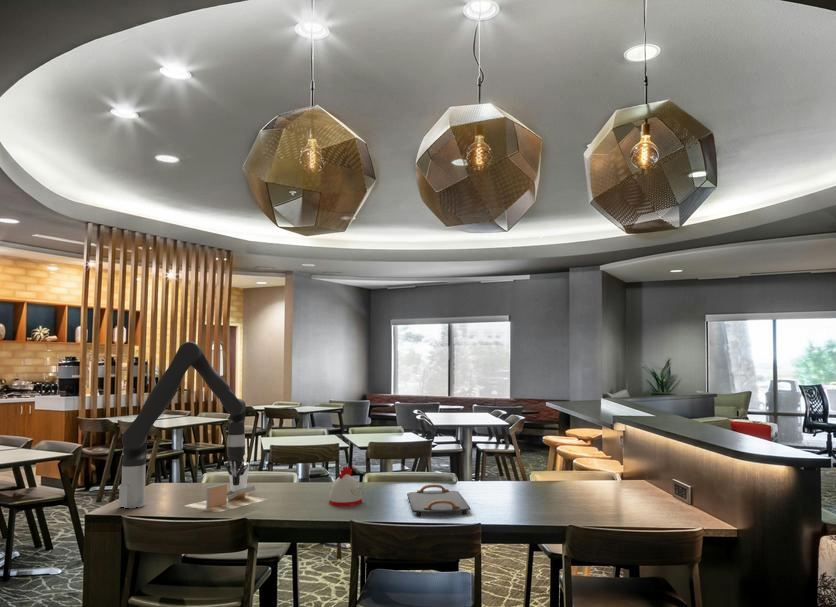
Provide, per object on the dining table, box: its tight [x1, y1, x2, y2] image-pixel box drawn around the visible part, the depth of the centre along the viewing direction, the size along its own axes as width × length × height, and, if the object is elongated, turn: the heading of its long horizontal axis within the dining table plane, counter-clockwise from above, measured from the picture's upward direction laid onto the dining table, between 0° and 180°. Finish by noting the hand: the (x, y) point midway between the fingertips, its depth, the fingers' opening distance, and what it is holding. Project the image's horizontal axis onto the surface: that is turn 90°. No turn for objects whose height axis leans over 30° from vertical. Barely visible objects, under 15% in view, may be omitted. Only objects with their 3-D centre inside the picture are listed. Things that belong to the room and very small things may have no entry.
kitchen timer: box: [328, 466, 363, 507], centre depth 273 cm, size 14×14×15 cm
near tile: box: [205, 483, 228, 508], centre depth 265 cm, size 9×2×8 cm, turn 146°
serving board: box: [406, 483, 471, 518], centre depth 263 cm, size 39×23×6 cm, turn 5°
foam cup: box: [228, 461, 250, 493], centre depth 297 cm, size 10×9×13 cm
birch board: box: [184, 494, 269, 513], centre depth 271 cm, size 27×22×1 cm
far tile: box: [227, 485, 256, 501], centre depth 276 cm, size 9×2×8 cm
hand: (236, 485), depth 279 cm, fingers closed
